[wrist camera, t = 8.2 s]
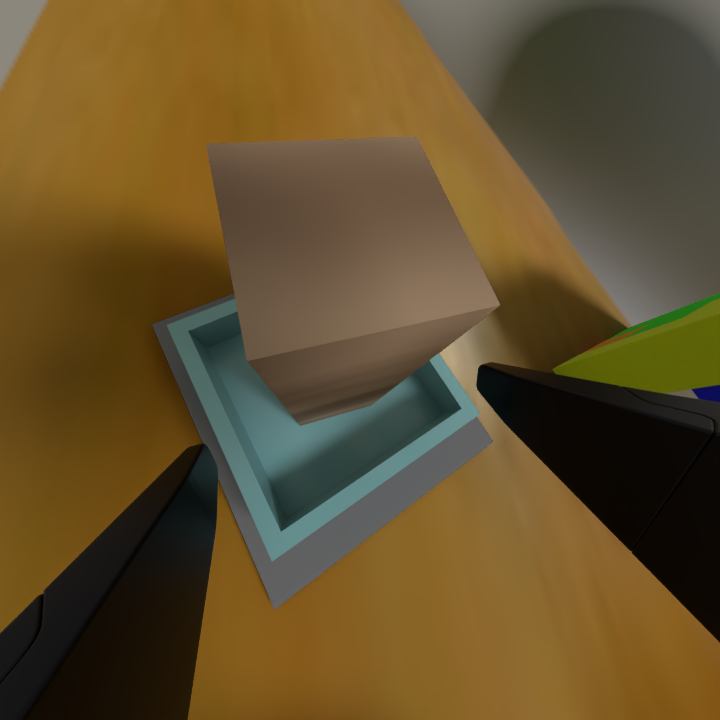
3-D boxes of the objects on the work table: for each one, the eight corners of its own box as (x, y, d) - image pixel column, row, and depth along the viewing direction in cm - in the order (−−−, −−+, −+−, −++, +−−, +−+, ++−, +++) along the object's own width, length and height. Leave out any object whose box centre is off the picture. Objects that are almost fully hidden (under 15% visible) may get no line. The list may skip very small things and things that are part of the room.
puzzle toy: (632, 490, 19) (945, 535, 9) (551, 369, 21) (738, 307, 12) (706, 430, 21) (1007, 418, 12) (627, 328, 24) (829, 251, 14)
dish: (452, 419, 18) (480, 413, 15) (282, 536, 14) (271, 561, 11) (359, 278, 20) (366, 248, 17) (194, 347, 17) (166, 324, 14)
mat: (489, 441, 18) (493, 441, 18) (275, 604, 14) (274, 609, 13) (359, 248, 22) (360, 245, 21) (155, 327, 17) (151, 324, 17)
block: (371, 405, 17) (500, 304, 5) (300, 425, 15) (246, 360, 4) (351, 341, 18) (416, 136, 6) (284, 356, 17) (206, 143, 5)
